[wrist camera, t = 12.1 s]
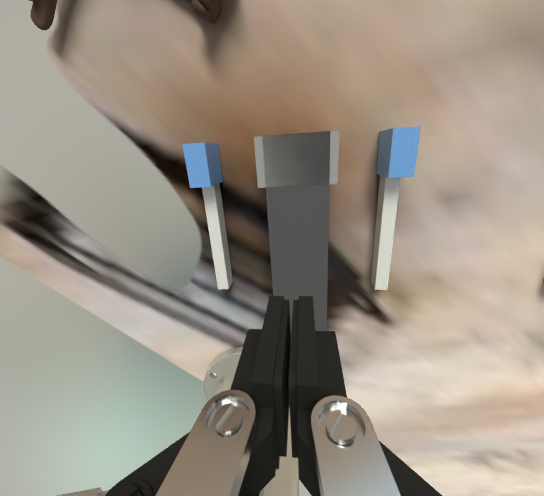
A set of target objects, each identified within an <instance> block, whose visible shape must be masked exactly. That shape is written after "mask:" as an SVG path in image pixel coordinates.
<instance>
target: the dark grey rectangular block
mask: <svg viewBox="0 0 544 496" xmlns="http://www.w3.org/2000/svg"><path fill="white" fill-rule="evenodd" d="M254 144H255V157H256V169H257V182H258V188H265V187H266V199H267V214H268V228H269V243H270V257H271V271H272V286H273V296H284V300H289V305H290V328H291V331H292V315H293V300H299V296H313V306H314V320H315V331H326V328H327V279H328V229H329V184H338V158H339V131H327V132H314V133H300V134H287V135H273V136H260V137H254Z"/></svg>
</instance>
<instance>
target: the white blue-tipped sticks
mask: <svg viewBox="0 0 544 496" xmlns="http://www.w3.org/2000/svg"><path fill="white" fill-rule="evenodd" d="M419 134H420V126H419V127H406V128H393V129H389V130H385V131H381V132H380V133H379V145H378V157H377V169H376V174H378V175H380V181H379V192H378V203H377V215H376V226H375V237H374V248H373V260H372V271H371V283H372V285H373V287H374V289H375V290H387V287H388V279H389V270H390V261H391V253H392V244H393V236H394V227H395V219H396V210H397V202H398V193H399V185H400V177H413V176H414V171H415V163H416V156H417V148H418V141H419ZM183 150H184V155H185V161H186V167H187V172H188V178H189V184H190V188H196V187H202V191H203V197H204V203H205V209H206V216H207V222H208V228H209V234H210V241H211V247H212V253H213V259H214V266H215V272H216V278H217V285H218V289H229V288H230V286H231V284H232V282H233V279H232V272H231V264H230V257H229V249H228V242H227V234H226V227H225V219H224V212H223V204H222V197H221V190H220V183H222V182H223V179H222V171H221V163H220V155H219V148H218V144H216V143H192V144H183Z"/></svg>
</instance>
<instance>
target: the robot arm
mask: <svg viewBox="0 0 544 496" xmlns="http://www.w3.org/2000/svg"><path fill="white" fill-rule="evenodd" d="M204 390H205V395H206V397H207V399H208V402H207V404H206V405H205V406H204V408H203V409H202V411H201V413H200V415H199V417H198V418H197V420H196V422H195V424H194V426H193V428H192V430H191V431H190V432H189V433H188V434H186V435H185V436H183V437H182V438H180V439H179V440H178V441H176V442H175V443H173V444H172V445H171V446H169V447H168V448H166V449H165V450H164V451H162V452H161V453H159V454H158V455H156V456H155V457H154V458H152V459H151V460H150V461H148V462H147V463H145V464H144V465H142V466H141V467H140V468H138V469H137V470H135V471H134V472H132V473H131V474H130V475H128V476H127V477H125V478H124V479H123V480H121V481H120V482H119V483H117V484H116V485H115V486H114V487H113V488H112V489H110V490H108V491H102V489H101V488H95V489H90V490H84V491H79V492H73V493H68V494H63V495H58V496H299V479H300V481H301V482H302V483H303V484H304V486H305V487H306V489H307V490H308V491H309V493H310V494H311V495H312V496H442V495H441V494H440V493H438V492H437V491H436V490H435V489H434V488H433V487H432V486H430V485H429V484H428V483H427V482H426V481H425V480H424V479H422V478H421V477H420V476H419V475H418V474H417V473H416V472H414V471H413V470H412V469H411V468H410V467H409V466H407V465H406V464H405V463H404V462H403V461H402V460H401V459H399V458H398V457H397V456H396V455H395V454H394V453H393V452H391V451H390V450H389V449H388V448H387V447H386V446H385V445H383V444H382V443H381V442H380V441H379V440H378V438H377V435H376V433H375V430H374V428H373V425H372V423H371V420H370V419H369V417H368V415H367V413H366V411H365V410H364V409H363V408H362V407H361V406H360V405H359V404H358V403H356V402H354V401H353V400H351V399H349V398H347V395H346V390H345V384H344V379H343V373H342V367H341V362H340V356H339V351H338V345H337V339H336V334H335V331H315V320H314V306H313V296H299V300H293V315H292V331H291V328H290V305H289V300H284V296H270V297H269V302H268V306H267V310H266V315H265V319H264V324H263V328H262V330H261V329H249V330H248V332H247V335H246V339H245V342H244V345H243V347H238V348H235V349H231V350H229V351H227V352H224V353H222V354H221V355H220V356H218V357H217V358H216V359H215V360H214V361H213V363H212V364H211V365H210V367H209V369H208V372H207V374H206V377H205V380H204Z"/></svg>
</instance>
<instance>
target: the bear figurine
mask: <svg viewBox="0 0 544 496" xmlns="http://www.w3.org/2000/svg"><path fill="white" fill-rule="evenodd" d="M30 1H33V6H32V10H31V19H32V21H33V22H34V24H35V25H36V26H37V27H38V28H40V29H41V30H47V29H49V28H50V26H51V25H52V22H53V19H54V14H55V9H56V4H57V0H30ZM189 1H191V2H192V7H193V9H194V11H195V12H196V13H197V15H199V16H200V17H201V18H202V19H204V20H208V21H210V22H211V23H213V24H215V23H216V21H217V19H218V17H219V15H220V13H221V4H220V1H219V0H189Z"/></svg>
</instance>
